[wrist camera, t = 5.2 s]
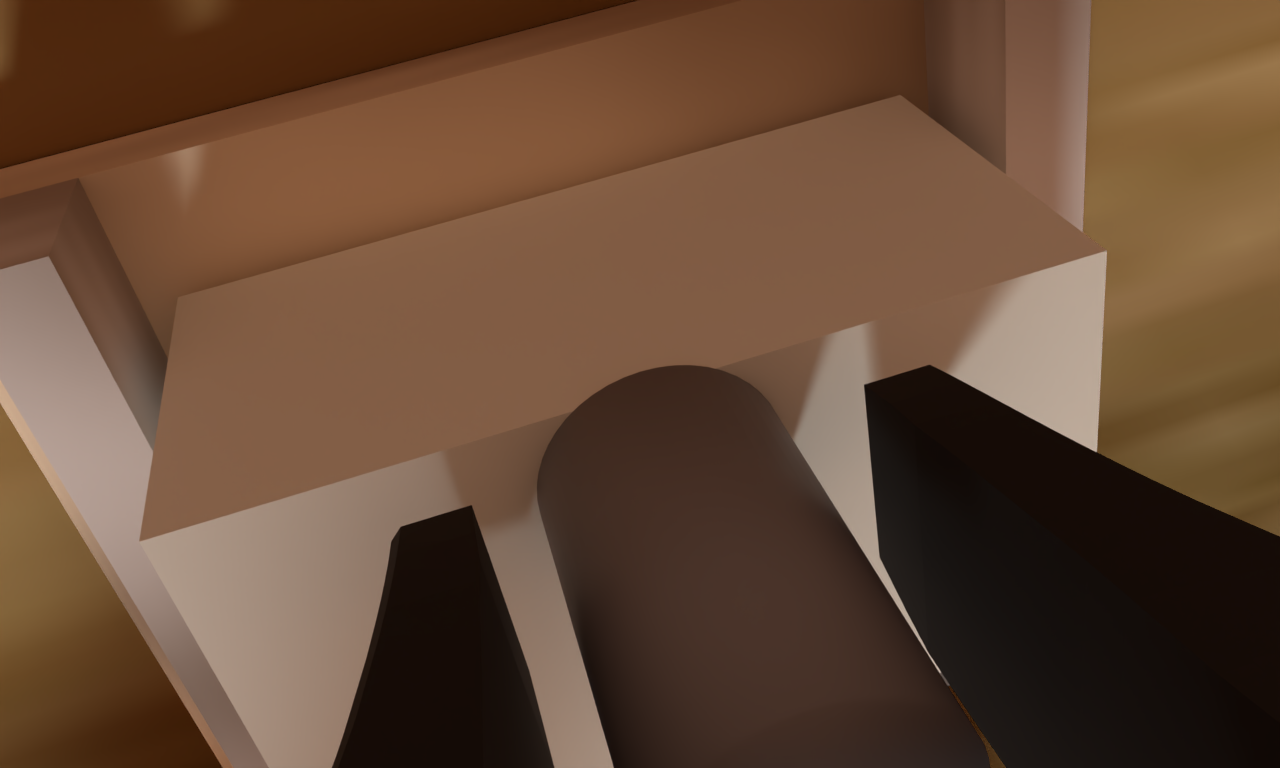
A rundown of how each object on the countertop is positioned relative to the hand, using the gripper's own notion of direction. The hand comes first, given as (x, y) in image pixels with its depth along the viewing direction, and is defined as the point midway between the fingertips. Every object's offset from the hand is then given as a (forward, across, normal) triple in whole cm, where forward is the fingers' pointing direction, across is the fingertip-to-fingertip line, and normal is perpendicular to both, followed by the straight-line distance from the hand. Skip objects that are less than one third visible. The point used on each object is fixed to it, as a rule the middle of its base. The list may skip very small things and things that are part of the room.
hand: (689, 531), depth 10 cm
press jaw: (+6, 0, +2) cm, 6 cm away
